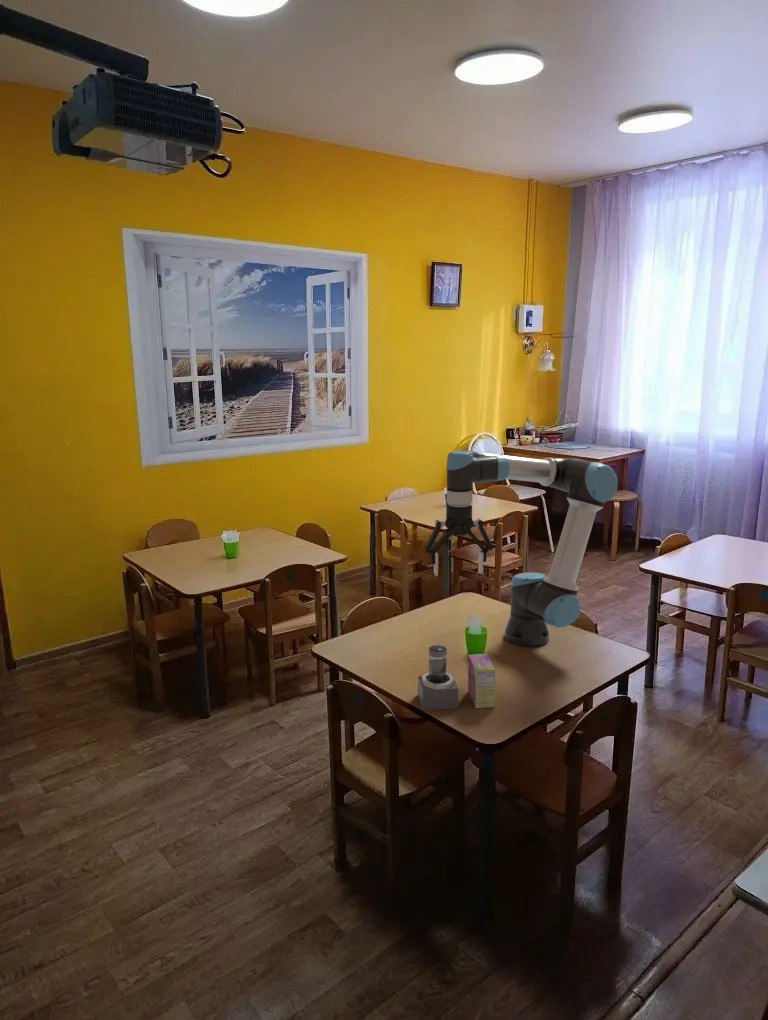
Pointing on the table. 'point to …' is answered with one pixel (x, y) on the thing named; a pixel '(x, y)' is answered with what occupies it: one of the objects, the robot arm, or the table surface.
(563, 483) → the robot arm
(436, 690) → the grey holed block
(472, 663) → the box
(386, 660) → the table surface
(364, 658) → the table surface
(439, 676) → the clear grey cylinder
